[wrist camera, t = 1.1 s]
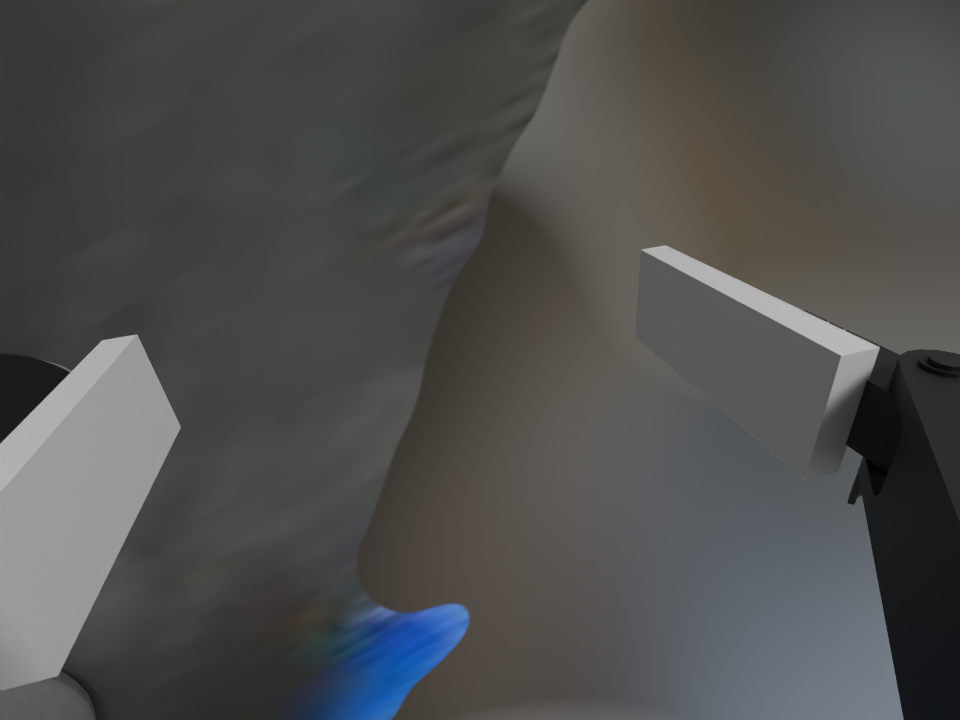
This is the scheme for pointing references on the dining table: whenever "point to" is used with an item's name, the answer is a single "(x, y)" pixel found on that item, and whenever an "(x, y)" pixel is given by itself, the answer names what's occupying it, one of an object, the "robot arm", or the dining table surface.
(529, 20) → the dining table surface
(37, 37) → the dining table surface
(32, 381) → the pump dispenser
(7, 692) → the coffee pot
